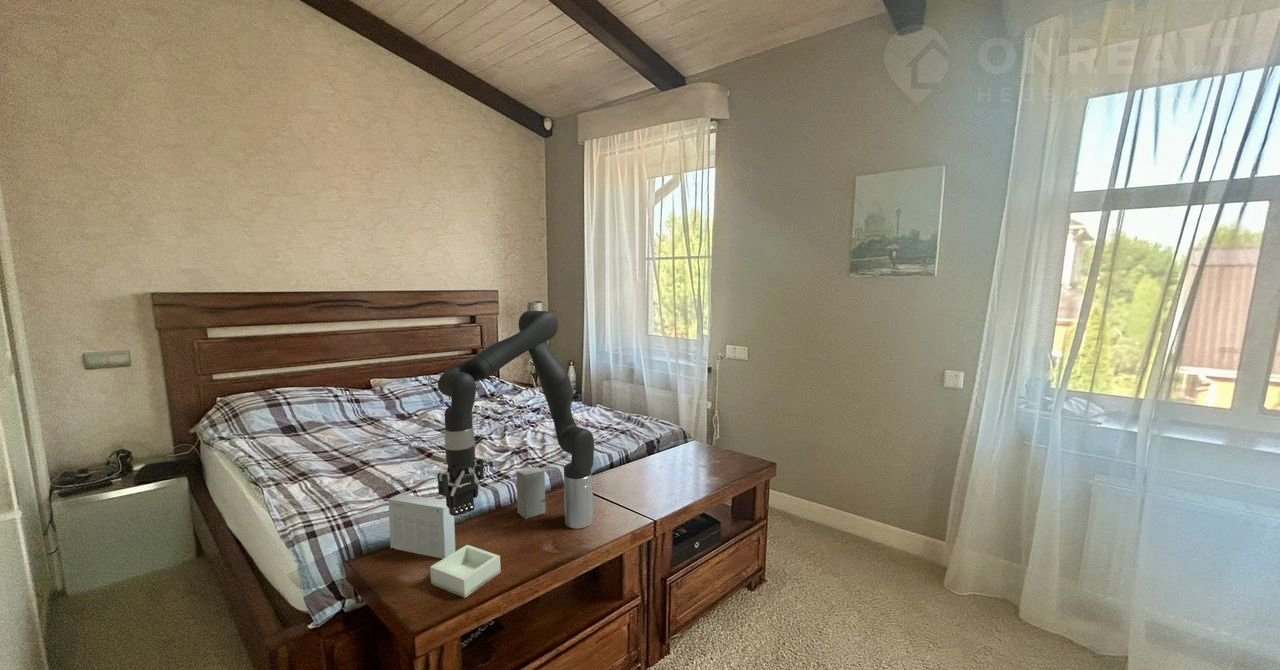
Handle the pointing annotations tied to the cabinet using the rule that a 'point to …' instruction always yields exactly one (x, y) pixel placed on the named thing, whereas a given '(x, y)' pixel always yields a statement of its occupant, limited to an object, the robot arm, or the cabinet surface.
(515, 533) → the cabinet surface
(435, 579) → the bin
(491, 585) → the cabinet surface
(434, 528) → the skincare box
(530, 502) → the skincare box
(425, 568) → the cabinet surface
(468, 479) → the battery charger
